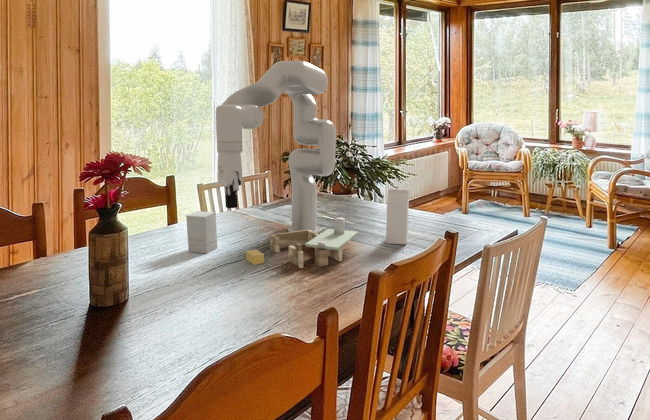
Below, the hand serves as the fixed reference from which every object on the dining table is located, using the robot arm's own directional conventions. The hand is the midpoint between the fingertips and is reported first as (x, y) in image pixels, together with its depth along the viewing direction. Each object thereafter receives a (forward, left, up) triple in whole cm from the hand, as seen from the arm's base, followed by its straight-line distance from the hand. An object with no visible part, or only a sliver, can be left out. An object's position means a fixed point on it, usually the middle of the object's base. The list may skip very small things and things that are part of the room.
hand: (231, 207), depth 168 cm
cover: (+7, +31, -13) cm, 35 cm away
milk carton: (+3, +60, -19) cm, 63 cm away
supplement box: (-20, -4, -19) cm, 28 cm away
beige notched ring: (+2, +24, -18) cm, 30 cm away
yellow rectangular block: (0, +7, -19) cm, 20 cm away
